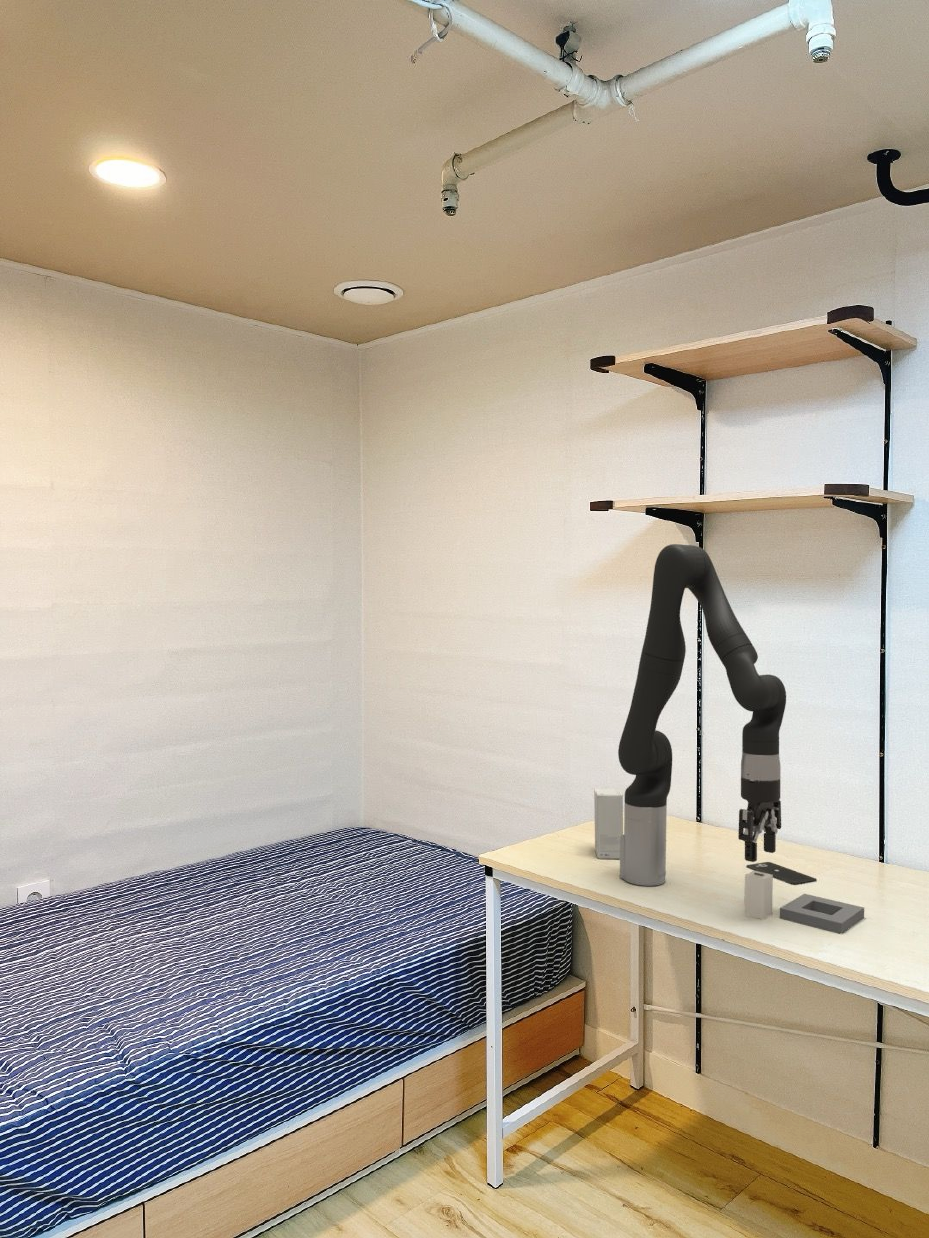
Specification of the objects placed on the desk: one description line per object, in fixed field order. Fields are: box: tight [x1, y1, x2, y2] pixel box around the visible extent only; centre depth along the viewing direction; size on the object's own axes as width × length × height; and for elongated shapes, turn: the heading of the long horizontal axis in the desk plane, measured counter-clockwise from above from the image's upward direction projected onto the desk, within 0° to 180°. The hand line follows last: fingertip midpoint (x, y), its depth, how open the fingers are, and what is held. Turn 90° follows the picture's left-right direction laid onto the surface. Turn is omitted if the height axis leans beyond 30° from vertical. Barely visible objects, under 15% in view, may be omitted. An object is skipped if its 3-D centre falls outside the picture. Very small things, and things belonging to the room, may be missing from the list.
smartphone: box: [745, 861, 817, 886], centre depth 208 cm, size 8×15×1 cm, turn 26°
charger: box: [743, 870, 774, 921], centre depth 181 cm, size 4×4×8 cm
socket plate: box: [779, 893, 865, 934], centre depth 179 cm, size 12×12×2 cm
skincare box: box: [593, 788, 624, 860], centre depth 221 cm, size 8×7×16 cm
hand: (760, 856), depth 180 cm, fingers open, 8 cm apart
